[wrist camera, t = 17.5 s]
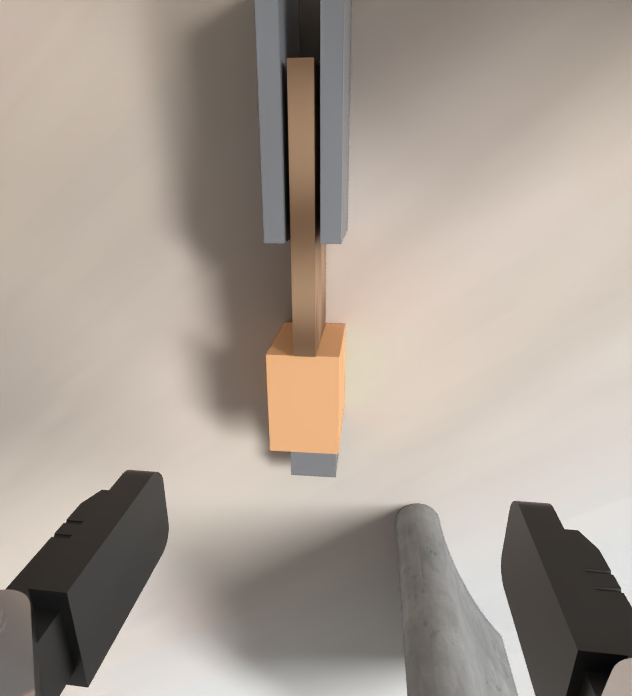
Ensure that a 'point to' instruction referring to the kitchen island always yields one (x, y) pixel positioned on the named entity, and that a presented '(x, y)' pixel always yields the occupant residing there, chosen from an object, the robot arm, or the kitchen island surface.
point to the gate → (305, 206)
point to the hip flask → (443, 618)
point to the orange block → (306, 393)
